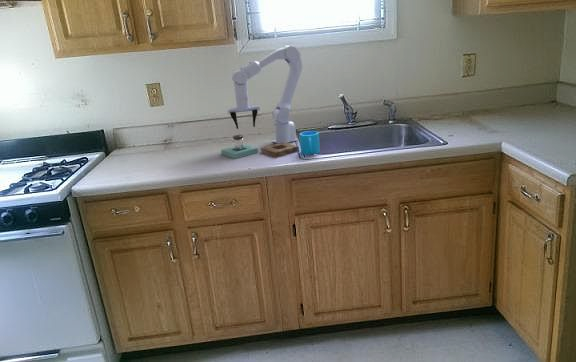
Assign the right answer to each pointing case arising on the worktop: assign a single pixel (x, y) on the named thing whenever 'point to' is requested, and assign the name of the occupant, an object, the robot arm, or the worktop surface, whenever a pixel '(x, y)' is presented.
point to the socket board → (236, 154)
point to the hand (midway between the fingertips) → (245, 127)
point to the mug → (309, 142)
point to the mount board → (279, 149)
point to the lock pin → (238, 142)
